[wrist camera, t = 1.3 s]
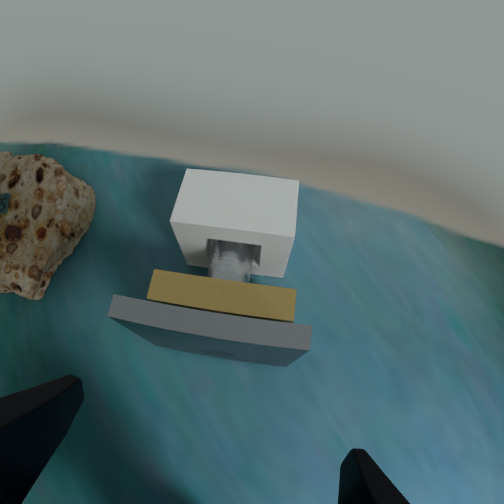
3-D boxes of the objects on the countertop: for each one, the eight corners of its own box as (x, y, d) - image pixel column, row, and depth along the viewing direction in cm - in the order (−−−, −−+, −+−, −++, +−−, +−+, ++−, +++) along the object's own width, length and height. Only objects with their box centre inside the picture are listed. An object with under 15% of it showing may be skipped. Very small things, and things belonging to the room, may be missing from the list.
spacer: (282, 338, 23) (293, 321, 18) (167, 320, 23) (146, 298, 18) (285, 313, 24) (296, 289, 19) (173, 296, 24) (154, 268, 19)
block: (282, 278, 25) (294, 237, 19) (187, 265, 26) (169, 221, 20) (287, 230, 27) (299, 180, 21) (198, 219, 28) (186, 168, 21)
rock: (114, 185, 31) (78, 138, 21) (82, 317, 28) (29, 315, 18) (-6, 171, 30) (-48, 139, 20) (-35, 275, 27) (-86, 261, 17)
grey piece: (286, 366, 22) (309, 350, 14) (155, 345, 22) (108, 316, 14) (298, 252, 26) (319, 186, 18) (181, 237, 26) (156, 168, 18)
